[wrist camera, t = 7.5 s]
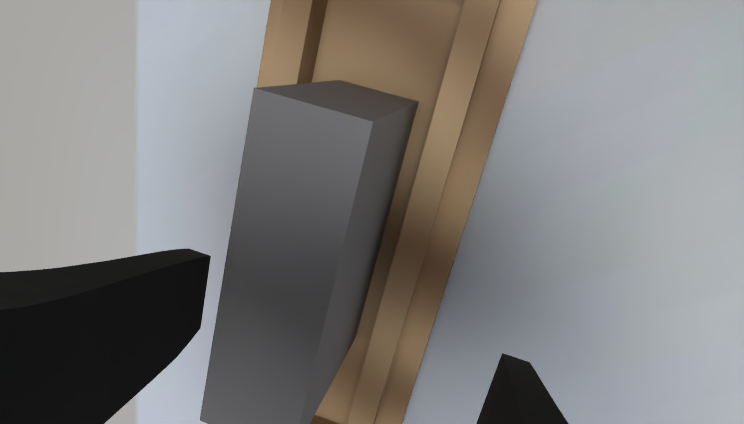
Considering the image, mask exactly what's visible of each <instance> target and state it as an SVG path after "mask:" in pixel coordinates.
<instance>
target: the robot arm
mask: <svg viewBox="0 0 744 424" xmlns="http://www.w3.org/2000/svg"><path fill="white" fill-rule="evenodd" d="M210 257H211V256H209V255H206V254H203V253H200V252H197V251H194V250H191V249H176V250H168V251H161V252H155V253H149V254H144V255H138V256H133V257H127V258H121V259H116V260H110V261H104V262H96V263H89V264H82V265H76V266H69V267H62V268H53V269H43V270H31V271H17V272H0V424H104V423H105V422H106V421H107V420H108V419H110V418H111V417H112V416H113V415H114V414H115V413H116V412H117V411H119V409H121V408H122V407H123V406H124V405H125V404H126V403H127V402H128V401H130V399H132V398H133V397H134V396H135V395H136V394H137V393H138V392H140V391H141V390H142V389H143V388H144V387H145V386H146V385H147V384H148V383H150V382H151V381H152V380H153V379H154V378H155V377H156V376H157V375H158V374H159V373H160V372H161V371H163V370H164V369H165V368H166V367H167V366H168V365H169V364H170V363H171V362H172V361H173V360H174V359H175V358H176V357H177V356H178V355H179V354H180V353H181V351H182V350H183V349H184V348H185V347H186V346H187V344H188V343H189V342H190V341H191V339H192V338H193V337H194V335H195V334H196V333H197V332H198V330H199V329H200V327H201V320H202V313H203V306H204V299H205V292H206V285H207V278H208V271H209V264H210ZM477 424H568V422H567V421H566V419H565V418H564V416H563V415H562V413H561V412H560V410H559V409H558V407H557V405H556V404H555V402H554V401H553V399H552V398H551V396H550V394H549V393H548V391H547V389H546V388H545V386H544V385H543V383H542V381H541V380H540V378H539V376H538V375H537V373H536V371H535V370H534V368H533V367H532V365H531V364H530V362H527V361H524V360H521V359H518V358H515V357H512V356H509V355H506V354H503V353H502V356H501V358H500V361H499V364H498V366H497V369H496V372H495V375H494V377H493V380H492V383H491V386H490V388H489V391H488V394H487V397H486V399H485V402H484V405H483V408H482V410H481V413H480V416H479V418H478V421H477Z"/></svg>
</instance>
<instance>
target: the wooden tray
mask: <svg viewBox="0 0 744 424" xmlns="http://www.w3.org/2000/svg"><path fill="white" fill-rule="evenodd" d="M536 3H537V0H271V3H270V9H269V15H268V22H267V28H266V34H265V40H264V46H263V52H262V58H261V64H260V70H259V76H258V82H257V88H259V87H269V86H280V85H291V84H302V83H313V82H323V81H334V80H342V81H346V82H349V83H353V84H357V85H360V86H364V87H368V88H371V89H375V90H379V91H382V92H386V93H389V94H393V95H397V96H400V97H404V98H408V99H411V100H415V101H419V103H418V107H417V111H416V114H415V118H414V122H413V125H412V129H411V133H410V137H409V140H408V144H407V148H406V152H405V155H404V159H403V163H402V167H401V170H400V174H399V178H398V182H397V185H396V189H395V193H394V196H393V200H392V204H391V208H390V211H389V215H388V219H387V223H386V226H385V230H384V234H383V238H382V241H381V245H380V249H379V253H378V256H377V260H376V264H375V267H374V271H373V275H372V279H371V282H370V286H369V290H368V294H367V297H366V301H365V305H364V309H363V312H362V316H361V320H360V324H359V327H358V331H357V335H356V338H355V340H354V342H353V344H352V346H351V348H350V350H349V351H348V353H347V355H346V357H345V359H344V361H343V363H342V365H341V366H340V368H339V370H338V372H337V374H336V376H335V378H334V379H333V381H332V383H331V385H330V387H329V389H328V391H327V393H326V394H325V396H324V398H323V400H322V402H321V404H320V406H319V407H318V409H317V411H316V413H315V415H314V417H313V419H312V421H311V422H310V424H401V423H402V420H403V417H404V414H405V411H406V408H407V405H408V402H409V399H410V395H411V392H412V389H413V386H414V383H415V380H416V377H417V374H418V370H419V367H420V364H421V361H422V358H423V355H424V352H425V349H426V346H427V342H428V339H429V336H430V333H431V330H432V327H433V324H434V321H435V318H436V314H437V311H438V308H439V305H440V302H441V299H442V296H443V293H444V289H445V286H446V283H447V280H448V277H449V274H450V271H451V268H452V265H453V261H454V258H455V255H456V252H457V249H458V246H459V243H460V240H461V237H462V233H463V230H464V227H465V224H466V221H467V218H468V215H469V212H470V208H471V205H472V202H473V199H474V196H475V193H476V190H477V187H478V184H479V180H480V177H481V174H482V171H483V168H484V165H485V162H486V159H487V155H488V152H489V149H490V146H491V143H492V140H493V137H494V134H495V131H496V127H497V124H498V121H499V118H500V115H501V112H502V109H503V106H504V103H505V99H506V96H507V93H508V90H509V87H510V84H511V81H512V78H513V74H514V71H515V68H516V65H517V62H518V59H519V56H520V53H521V50H522V46H523V43H524V40H525V37H526V34H527V31H528V28H529V25H530V22H531V18H532V15H533V12H534V9H535V6H536Z"/></svg>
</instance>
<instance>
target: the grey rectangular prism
mask: <svg viewBox="0 0 744 424" xmlns="http://www.w3.org/2000/svg"><path fill="white" fill-rule="evenodd" d="M418 103H419V101H415V100H411V99H408V98H404V97H400V96H397V95H393V94H389V93H386V92H382V91H379V90H375V89H371V88H368V87H364V86H360V85H357V84H353V83H349V82H346V81H342V80H334V81H323V82H313V83H302V84H291V85H280V86H269V87H259V88H254V91H253V98H252V104H251V110H250V116H249V122H248V128H247V134H246V140H245V147H244V153H243V159H242V165H241V171H240V177H239V183H238V189H237V195H236V202H235V208H234V214H233V220H232V226H231V232H230V238H229V244H228V251H227V257H226V263H225V269H224V275H223V281H222V287H221V293H220V300H219V306H218V312H217V318H216V324H215V330H214V336H213V342H212V348H211V355H210V361H209V367H208V373H207V379H206V385H205V391H204V397H203V404H202V410H201V416H200V421H203V422H205V423H208V424H310V422H311V421H312V419H313V417H314V415H315V413H316V411H317V409H318V407H319V406H320V404H321V402H322V400H323V398H324V396H325V394H326V393H327V391H328V389H329V387H330V385H331V383H332V381H333V379H334V378H335V376H336V374H337V372H338V370H339V368H340V366H341V365H342V363H343V361H344V359H345V357H346V355H347V353H348V351H349V350H350V348H351V346H352V344H353V342H354V340H355V338H356V335H357V331H358V327H359V324H360V320H361V316H362V312H363V309H364V305H365V301H366V297H367V294H368V290H369V286H370V282H371V279H372V275H373V271H374V267H375V264H376V260H377V256H378V253H379V249H380V245H381V241H382V238H383V234H384V230H385V226H386V223H387V219H388V215H389V211H390V208H391V204H392V200H393V196H394V193H395V189H396V185H397V182H398V178H399V174H400V170H401V167H402V163H403V159H404V155H405V152H406V148H407V144H408V140H409V137H410V133H411V129H412V125H413V122H414V118H415V114H416V111H417V107H418Z"/></svg>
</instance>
